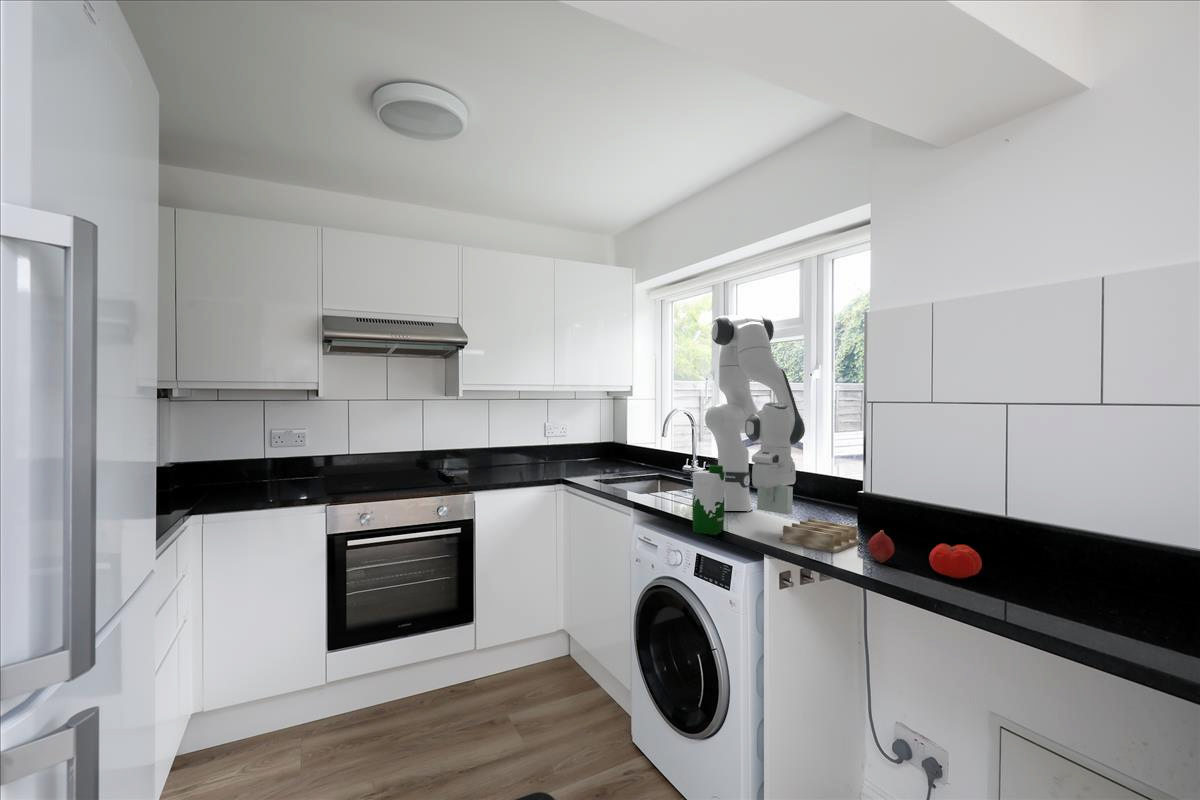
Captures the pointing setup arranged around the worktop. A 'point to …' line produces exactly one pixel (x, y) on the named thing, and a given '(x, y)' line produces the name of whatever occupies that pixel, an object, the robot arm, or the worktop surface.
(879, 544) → the onion
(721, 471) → the milk carton
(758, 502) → the pale green rectangular block
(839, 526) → the dish rack
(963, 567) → the tomato
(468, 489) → the worktop surface
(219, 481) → the worktop surface
